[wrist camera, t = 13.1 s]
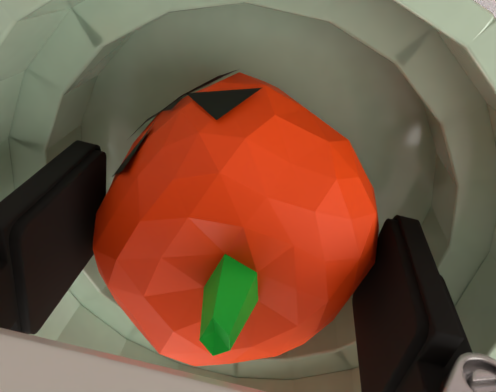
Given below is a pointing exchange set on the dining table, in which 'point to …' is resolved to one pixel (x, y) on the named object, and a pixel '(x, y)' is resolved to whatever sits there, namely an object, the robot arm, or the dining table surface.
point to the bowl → (301, 90)
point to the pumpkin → (235, 225)
